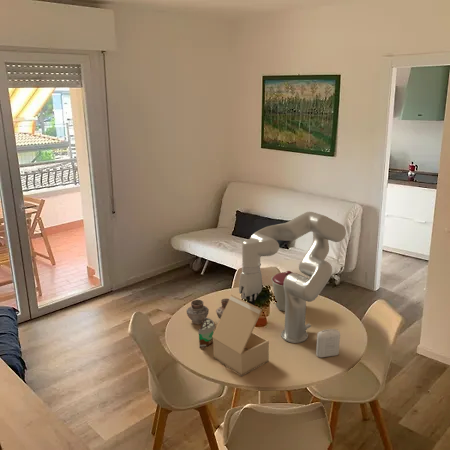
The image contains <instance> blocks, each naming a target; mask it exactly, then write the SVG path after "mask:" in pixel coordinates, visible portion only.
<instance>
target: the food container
mask: <svg viewBox="0 0 450 450" xmlns="http://www.w3.org/2000/svg"><path fill="white" fill-rule="evenodd" d="M215 329H216V326H215V322H214V320H212V319H211V318H209V317H206V318H205V319H204V321H203V323H201V326H200V327H199V329H198V343H199V348H200V349H204V348H208V347H209V348H210V346H212V345H213V337H212V335H213V333H214V331H215Z"/></svg>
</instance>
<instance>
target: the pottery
mask: <svg viewBox="0 0 450 450" xmlns="http://www.w3.org/2000/svg"><path fill="white" fill-rule="evenodd" d="M229 299H230V298H222V299H221V300H220V303H221V306H219V307H218V308H217V309H216V310H215V312H216V314H217V318H218V319H219V320H220V318H221V316H222V314H223V312H224V310H225V308H226V305H227V303H228V301H229ZM190 305H191V306H189V307H188V308H187V309H186V315H187V317H188V319H189V320H191V322H192V323H193V324H195V325H200V324H201V325H202V324H203V322H204V320H205V318H208V316H209V315H208V314H209V312H210V311H209V310H210V309H209V307H208V306H205V305H204V300H201V299H194V300H192V301H191V304H190Z"/></svg>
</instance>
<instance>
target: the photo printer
mask: <svg viewBox="0 0 450 450" xmlns="http://www.w3.org/2000/svg"><path fill="white" fill-rule="evenodd" d="M340 341H341V333H340V331H339V330H338V329H335V328H327V329H322V330H320V331H318V332H317V335H316V348H315V353H316V354H315V355H316V356H317V357H318V358H327V357H335V356H339V354H340Z"/></svg>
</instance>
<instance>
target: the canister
mask: <svg viewBox="0 0 450 450" xmlns="http://www.w3.org/2000/svg"><path fill="white" fill-rule="evenodd" d="M291 273H294V272H292V271H291V270H287V271H285V272H284V271H283V272H278V273H276V274H274V275H273V276H271V282H272V288H273V289H272V290H273V297H274V296H275V299H276V301H277V303H275V302H274V305H275V307H276V308H277V309H278V310H279V311H281V312H285V291H284V279H285V277H286V276H287V275H289V274H291ZM295 273H296V272H295ZM296 274H299V273H296ZM299 275H301V274H299Z"/></svg>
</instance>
